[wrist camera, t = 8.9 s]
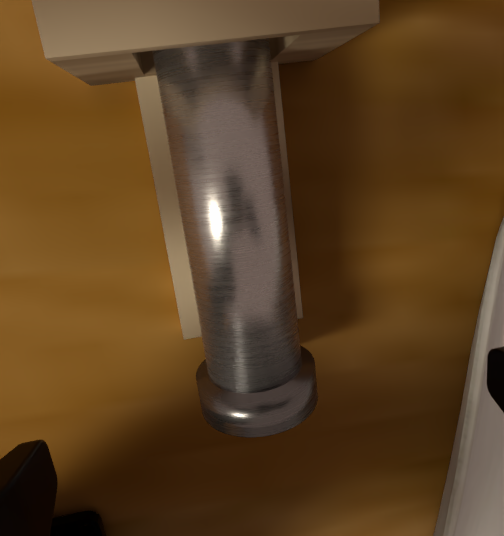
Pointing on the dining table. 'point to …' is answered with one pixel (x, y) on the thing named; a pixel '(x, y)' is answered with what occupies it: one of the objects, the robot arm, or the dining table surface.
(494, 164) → the dining table surface
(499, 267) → the square plate
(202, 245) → the shaft
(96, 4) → the bearing bed
